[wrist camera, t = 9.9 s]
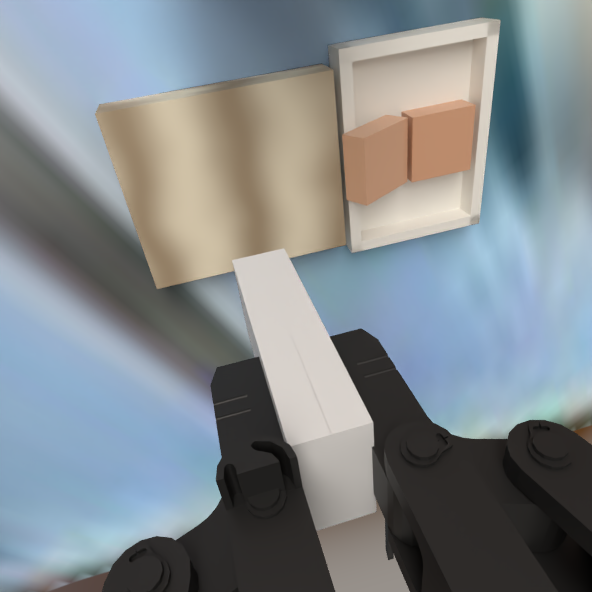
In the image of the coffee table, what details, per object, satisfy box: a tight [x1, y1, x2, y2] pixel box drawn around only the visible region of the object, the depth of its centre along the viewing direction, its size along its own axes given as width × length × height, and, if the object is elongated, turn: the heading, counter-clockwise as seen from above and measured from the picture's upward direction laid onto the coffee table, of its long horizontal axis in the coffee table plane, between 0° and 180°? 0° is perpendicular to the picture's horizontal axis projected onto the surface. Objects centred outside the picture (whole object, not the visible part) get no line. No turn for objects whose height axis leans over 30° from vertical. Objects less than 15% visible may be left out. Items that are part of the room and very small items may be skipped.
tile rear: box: [401, 99, 476, 182], centre depth 34 cm, size 4×4×2 cm
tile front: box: [342, 115, 408, 206], centre depth 32 cm, size 4×4×2 cm
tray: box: [328, 18, 500, 253], centre depth 34 cm, size 10×14×2 cm
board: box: [95, 64, 346, 289], centre depth 32 cm, size 14×12×2 cm
